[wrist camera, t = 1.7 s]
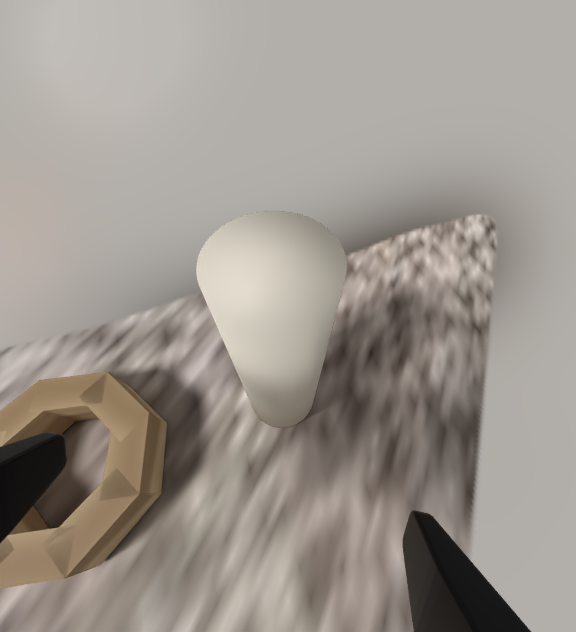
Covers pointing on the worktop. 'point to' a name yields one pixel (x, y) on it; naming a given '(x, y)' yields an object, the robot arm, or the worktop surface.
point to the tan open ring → (108, 498)
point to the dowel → (274, 305)
